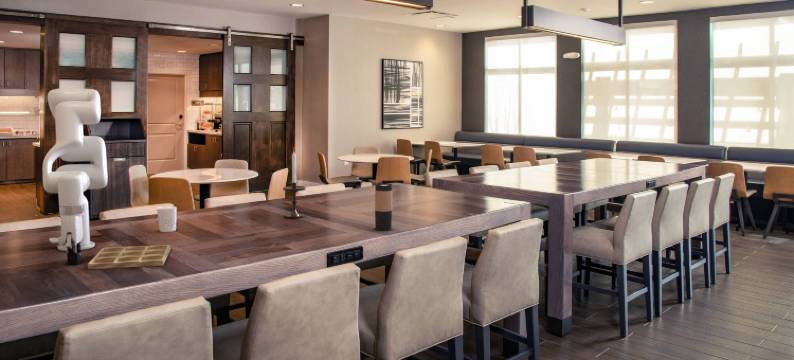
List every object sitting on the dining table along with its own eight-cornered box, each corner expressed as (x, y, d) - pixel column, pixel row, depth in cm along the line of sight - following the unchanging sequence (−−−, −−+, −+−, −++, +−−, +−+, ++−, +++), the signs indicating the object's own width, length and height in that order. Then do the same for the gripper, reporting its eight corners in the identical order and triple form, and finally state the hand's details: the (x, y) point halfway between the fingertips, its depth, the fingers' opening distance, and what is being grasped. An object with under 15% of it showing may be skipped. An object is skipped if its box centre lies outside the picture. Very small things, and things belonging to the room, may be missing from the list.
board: (87, 269, 208) (87, 264, 207) (102, 252, 230) (102, 247, 230) (163, 265, 213) (162, 260, 213) (170, 249, 236) (170, 244, 236)
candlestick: (310, 216, 306) (309, 144, 302) (295, 219, 297) (294, 146, 293) (293, 214, 312) (292, 143, 307) (278, 217, 303) (277, 145, 298)
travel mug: (378, 231, 273) (378, 186, 270) (372, 228, 280) (372, 183, 277) (394, 230, 275) (395, 185, 273) (388, 227, 282) (388, 183, 280)
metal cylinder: (66, 264, 213) (66, 254, 213) (70, 261, 217) (69, 251, 217) (79, 264, 214) (79, 254, 214) (82, 261, 218) (82, 251, 218)
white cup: (156, 232, 265) (155, 209, 264) (159, 229, 273) (158, 206, 272) (175, 232, 267) (175, 209, 265) (178, 228, 274) (177, 205, 273)
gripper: (66, 206, 220) (69, 257, 223) (52, 215, 204) (55, 269, 207) (89, 205, 222) (92, 256, 225) (77, 214, 206) (80, 268, 208)
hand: (74, 262), depth 216 cm, fingers closed on metal cylinder, 4 cm apart
